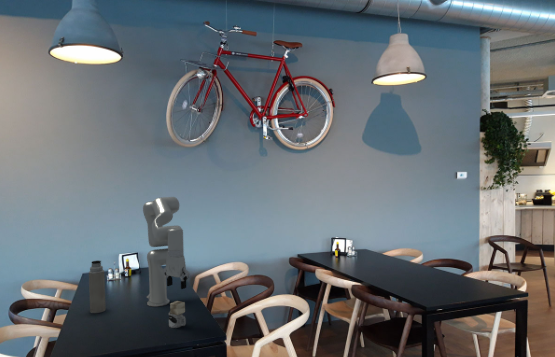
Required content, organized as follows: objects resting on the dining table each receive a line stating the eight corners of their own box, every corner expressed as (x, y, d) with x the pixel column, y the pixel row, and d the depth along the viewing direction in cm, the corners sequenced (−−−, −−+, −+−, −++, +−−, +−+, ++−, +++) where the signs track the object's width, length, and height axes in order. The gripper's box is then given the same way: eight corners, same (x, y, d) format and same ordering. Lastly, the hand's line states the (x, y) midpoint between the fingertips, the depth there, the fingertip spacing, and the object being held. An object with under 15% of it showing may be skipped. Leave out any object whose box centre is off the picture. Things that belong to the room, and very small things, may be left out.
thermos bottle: (87, 311, 239) (86, 261, 239) (102, 307, 245) (100, 258, 244) (93, 314, 234) (91, 263, 233) (107, 310, 239) (106, 260, 238)
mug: (166, 326, 213) (165, 313, 213) (176, 322, 218) (175, 309, 218) (180, 330, 207) (180, 316, 207) (190, 325, 213) (189, 312, 213)
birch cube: (170, 313, 212) (170, 303, 212) (177, 310, 216) (177, 300, 216) (177, 315, 209) (177, 305, 209) (185, 312, 214) (184, 302, 214)
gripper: (158, 252, 214) (158, 286, 215) (182, 256, 204) (183, 291, 205) (169, 249, 220) (170, 282, 221) (193, 253, 211) (194, 287, 211)
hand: (176, 287), depth 213 cm, fingers open, 9 cm apart
